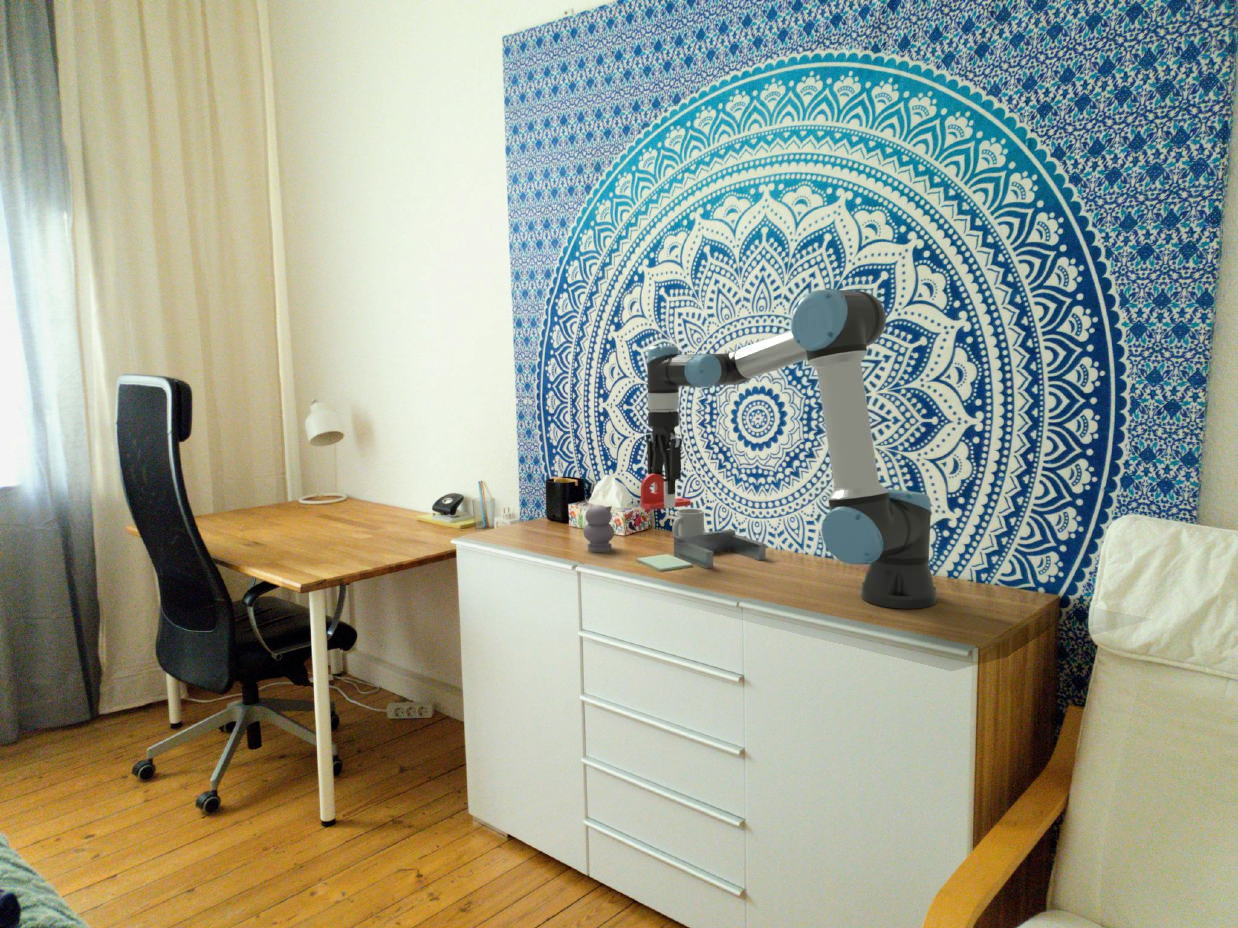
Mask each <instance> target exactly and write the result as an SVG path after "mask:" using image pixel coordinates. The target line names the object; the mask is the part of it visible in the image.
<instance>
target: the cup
mask: <svg viewBox="0 0 1238 928" xmlns="http://www.w3.org/2000/svg"><path fill="white" fill-rule="evenodd" d="M671 530H672V536H673V538H674V537H676V536H684V535H691V534H699V533H705V512H704V510H703V509H697V508H682V509H678V510H677V511H676V518H675V519H674V520H673V523H672V529H671Z"/></svg>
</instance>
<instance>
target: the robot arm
mask: <svg viewBox="0 0 1238 928" xmlns="http://www.w3.org/2000/svg"><path fill="white" fill-rule="evenodd" d="M790 319H791V320H790V329H789V330H786V331H783V332H780V333H777V334H775V335H773V336H770V337H767V338H765V339H762V340H759V341H756V342H754V343H751V344H748V345H746V346H743V347H740V348H739V349H735V350H732V351H730V352H726V353H695V354H689V353H688V354H680V353H679V352H680V351H679V347H678V346H675V345H667V346H666V345H662V346H661V345H660V346H659V345H657V346H656V345H654V346H653V345H652V346H650V347H648V350H647V358H646V359H647V362H646V368H647V370H646V371H647V409H648V410H649V411H648V412H647V425H648V427H650V428H652V429H651V430H652V431H651V434H646V435H645V440H646V450H647V451H646V455H647V456H646V460H647V467H646V468H647V475H650V474H658V475H661V476H662V477H663V478H664V477H665V478H664V479H663V481H664V509H671V508H670V507H672V508H676V507H675V499H676V481H678V480H681V478H682V444H683V439H682V438H681V437H677V436H676V430H675V428H677V427H678V426H680V425H679V424H680V412H679V411H678V409H679V408H680V405H679V403H680V402H679V400H680V396H679V395H680V394H679V392H680V387H687V388H689V387H690V388H698V389H701V388H703V389H704V388H711V387H713V386H728V385H729V386H730V385H731V386H733V385H734V386H737V385H742V384H745V383H748V382H749V381H751V380H752V378H755V377H759V376H761V375H764V374H768V373H770V372H773V371H776V370H779V369H782V368H785V367H789V366H792V365H795V364H798V363H800V362H804V361H807V364H808V365H810V366H811V367H812V368H814V369H815V370H816V373H817V380H818V387H819V393H820V403H821V408H822V414H823V421H824V427H825V434H826V435H825V436H826V439H827V447H828V452H829V454H828V455H829V460H830V468H831V474H832V481H833V486H834V487H833V490H832V492H831V493H830V495H829V496H828V498H827V500H828V501H827V502H828V507H829V508H828V509H829V512H827V514H826V515H825V517H824V519H823V520H822V523H821V536H822V541H823V543H824V545H825V548H827V550H828V551H829V553H830V554H831V555H832V556H833V557H835V558H836V559H837V560H839V561H840V562H843V563H844V564H848V565H853V566H854V565H855V566H856V565H863V564H868V568H867V570H866V573H865V577H864V581H862V584H861V587H860V589H861V590H860V591H861V592H860V596H861V597H860V598H861V599H862V600H863V601H865V602H868V603H870V604H873V605H876V606H879V607H885V608H891V609H902V610H903V609H904V610H907V609H908V610H911V609H923V608H928V607H932V606H934V605H935V604H936V603H937V601H938V600H937V598H938V597H937V593H938V591H937V588H936V586H935V585H934V580H933V579H934V578H933V574H932V572H931V568H930V544H931V543H930V540H931V539H930V538H931V521H932V520H931V519H932V518H931V517H932V508H931V498H930V496H929V495H927V494H926V493H922V492H917V491H912V490H911V491H910V490H900V489H891V488H888V489H887V487H885V486H883V485H882V484H881V483H880V479H879V474H878V468H877V461H876V454H875V447H874V442H873V434H872V427H871V421H870V415H869V408H868V400H867V393H866V388H865V381H864V375H863V368H862V361H863V360H864V358H865V357H866V356H867V354H868V350H867V349H868V347H869V346H871V345H873V344H874V343H875V342H877V341H878V340H879V338H880V337H881V336H882V335H883V332H884V331H885V328H886V323H887V315H886V310H885V308H884V305H883V304H882V301H880V299H878V298H877V297H876V296H874V295H873V294H871V293H869V292H866V291H862V290H843V289H834V288H827V289H817V290H813V291H811V292H809V293H807V294H806V295H805V296H803V297H802V298H801V299H800V300H799V302H798V303H797V305H796V307H794V309H793V312H792V316H791V318H790ZM663 469H664V473H663ZM657 489H658V485H657V483H656V482H654V483H652V493H655V492H656V491H657Z"/></svg>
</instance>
